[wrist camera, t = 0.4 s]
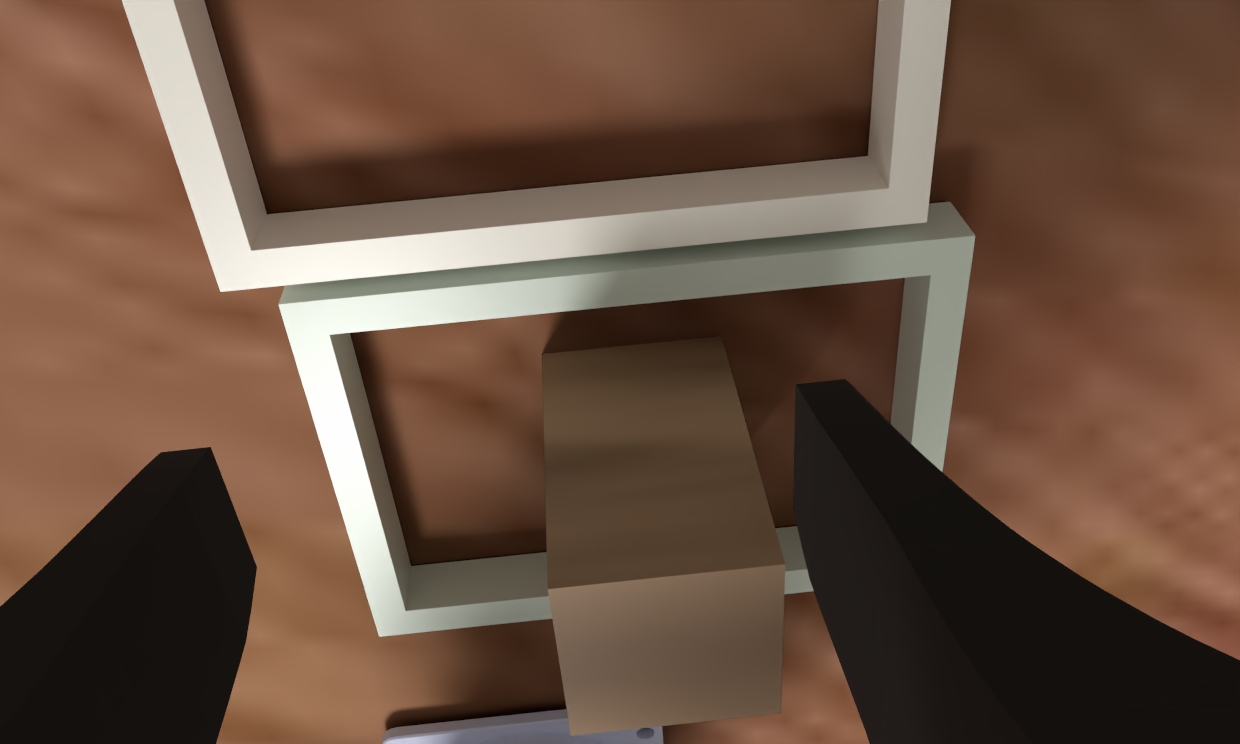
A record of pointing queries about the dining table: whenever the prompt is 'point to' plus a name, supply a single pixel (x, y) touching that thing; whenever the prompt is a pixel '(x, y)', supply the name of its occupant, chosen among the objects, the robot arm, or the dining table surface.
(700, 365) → the block
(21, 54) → the dining table surface
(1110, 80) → the dining table surface
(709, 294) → the pale green rectangular frame
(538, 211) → the tray
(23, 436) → the dining table surface
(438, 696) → the dining table surface
